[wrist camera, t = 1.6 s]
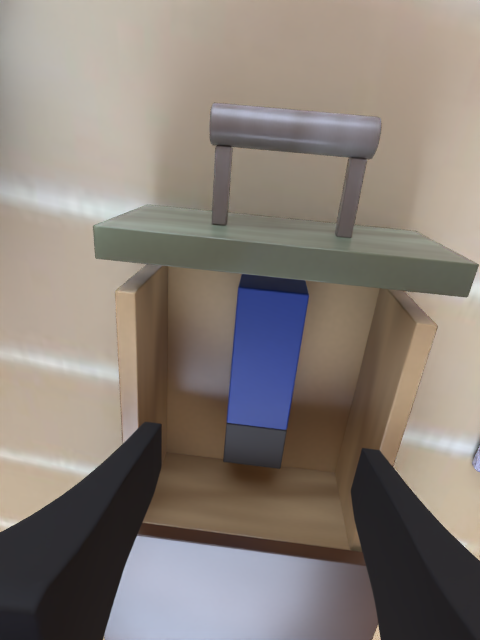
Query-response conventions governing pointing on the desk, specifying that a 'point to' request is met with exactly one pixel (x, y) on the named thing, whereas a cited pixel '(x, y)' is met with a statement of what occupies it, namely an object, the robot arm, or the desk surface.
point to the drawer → (316, 347)
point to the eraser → (263, 368)
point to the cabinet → (239, 589)
